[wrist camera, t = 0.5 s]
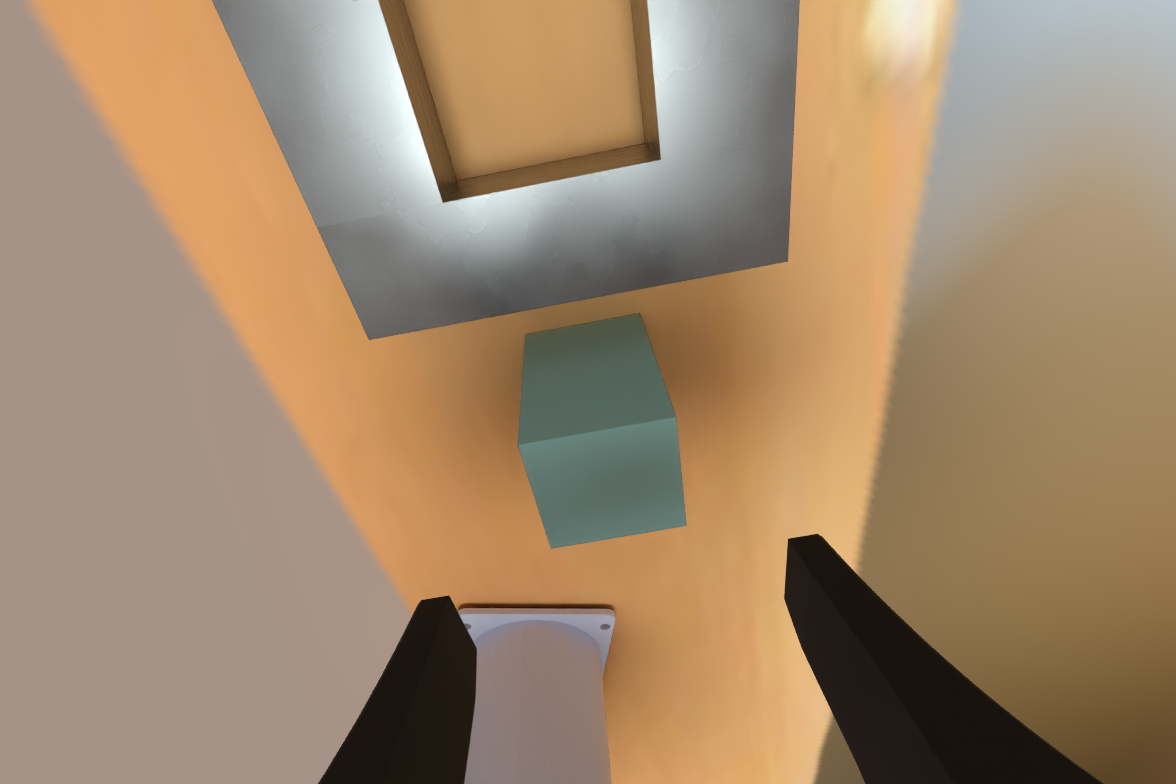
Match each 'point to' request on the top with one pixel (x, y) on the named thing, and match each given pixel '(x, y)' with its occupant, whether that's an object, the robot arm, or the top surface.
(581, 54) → the top surface
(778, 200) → the square hole plate
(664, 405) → the peg block
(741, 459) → the top surface
